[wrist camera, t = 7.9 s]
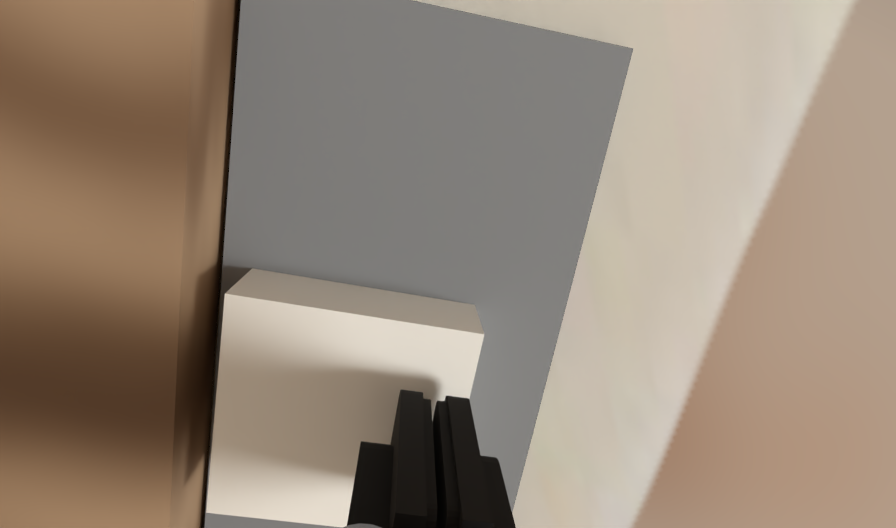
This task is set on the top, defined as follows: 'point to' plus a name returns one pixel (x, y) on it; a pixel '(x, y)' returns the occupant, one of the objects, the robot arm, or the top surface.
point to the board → (110, 256)
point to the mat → (422, 176)
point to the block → (322, 387)
